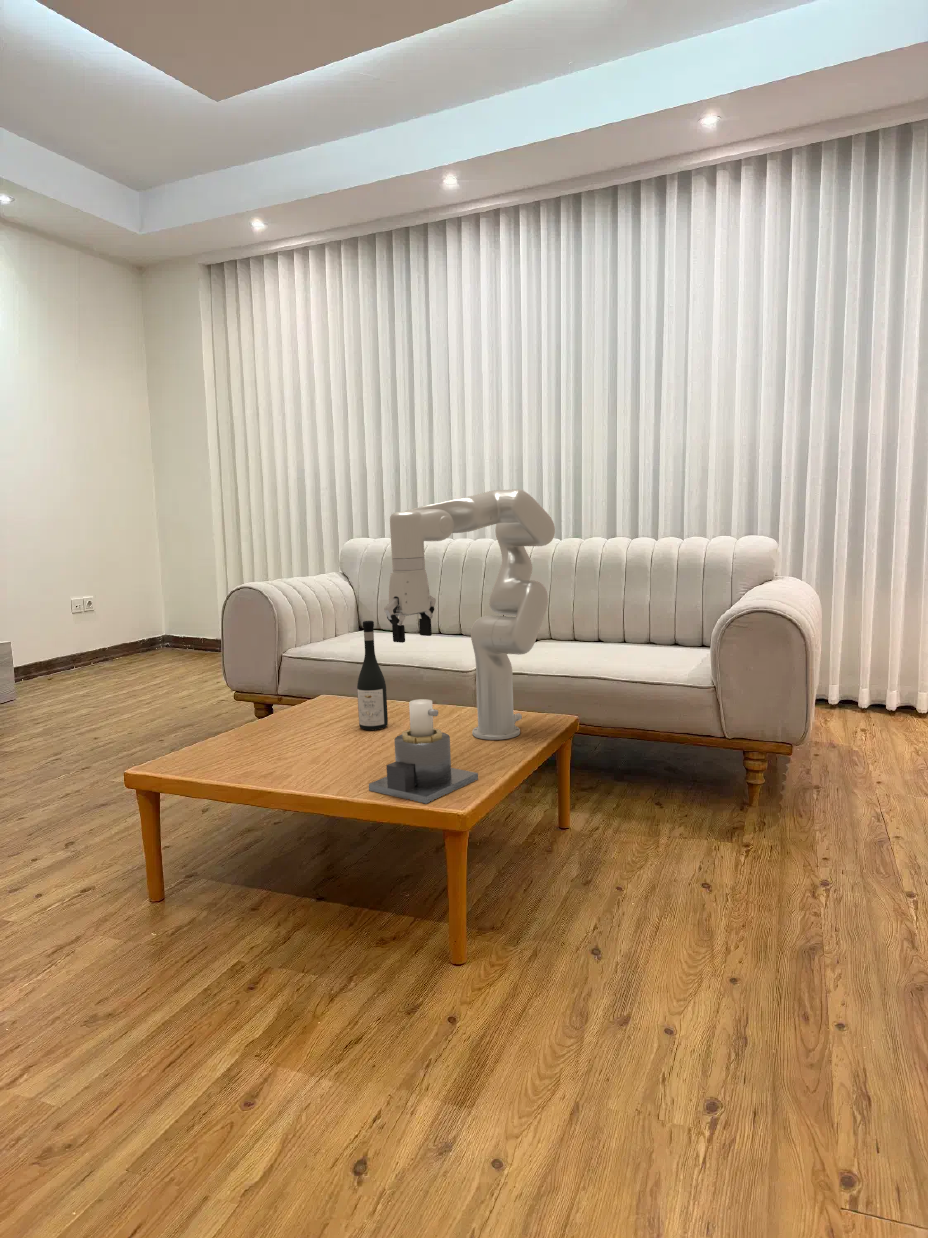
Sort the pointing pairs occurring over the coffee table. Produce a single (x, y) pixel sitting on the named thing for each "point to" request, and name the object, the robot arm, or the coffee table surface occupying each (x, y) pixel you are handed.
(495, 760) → the coffee table surface
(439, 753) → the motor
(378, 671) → the wine bottle
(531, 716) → the coffee table surface
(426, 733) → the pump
